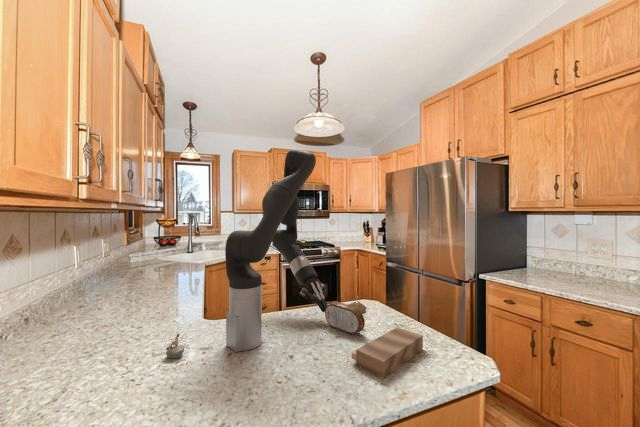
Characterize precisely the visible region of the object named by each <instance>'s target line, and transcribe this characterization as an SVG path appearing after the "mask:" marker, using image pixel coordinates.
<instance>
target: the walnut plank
mask: <svg viewBox="0 0 640 427" xmlns="http://www.w3.org/2000/svg"><path fill="white" fill-rule="evenodd" d="M423 337H424V336H423V334H419V333H416V332H414V331H413V332H412V331H410V330H408V329H404V328H401V327H399V326H398V327H397V326H396V327H395V328H393V329H391V330H389V331H387V332H386V333H384V334H382V335H380V336H378V337H377V338H375V339H373V340H371V341H369V342H367V343H366V344H364V345H362V346H360V347H359V348H357V349H355V350H354V351H352V352H350V353H351V359H352V360H354V361H355V366H356V367H358V366H359V367H358V368H360V367H361V368H360V369H362V370H364V371H366V372H367V373H368V372H369V373H370V374H372V375H374V376H376V377H378V378H381V379H382V380H385V379H386V378H387V377H388V376H389V375H391V374H393V373H394V372H395V371H396V370H397V369H399V368H401V366H403V365H404V364H406V363H407V362H408V361H410V360H411V359H412V358H414V357H415V356H416V355H417V354H419V353H420V352H422V351H423V349H424V347H423V346H424V345H423V344H424V342H423V341H424V340H423V339H424V338H423Z"/></svg>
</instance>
